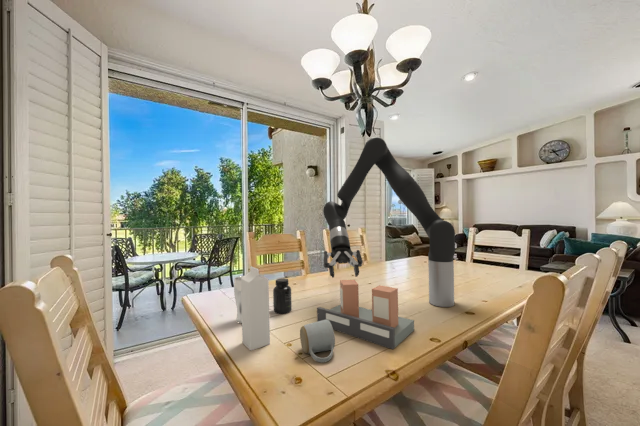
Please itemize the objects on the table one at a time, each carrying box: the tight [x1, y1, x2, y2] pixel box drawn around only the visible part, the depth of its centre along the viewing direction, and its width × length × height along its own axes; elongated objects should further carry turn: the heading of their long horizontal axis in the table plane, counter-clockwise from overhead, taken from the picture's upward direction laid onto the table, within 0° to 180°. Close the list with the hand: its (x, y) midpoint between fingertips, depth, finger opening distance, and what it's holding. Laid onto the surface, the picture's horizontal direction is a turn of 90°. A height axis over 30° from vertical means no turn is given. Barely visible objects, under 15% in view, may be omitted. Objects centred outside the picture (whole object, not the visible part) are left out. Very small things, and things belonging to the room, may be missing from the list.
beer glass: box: [233, 275, 244, 324], centre depth 96 cm, size 7×7×15 cm
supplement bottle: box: [272, 277, 293, 315], centre depth 104 cm, size 7×7×12 cm
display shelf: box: [316, 304, 415, 350], centre depth 88 cm, size 16×27×6 cm, turn 50°
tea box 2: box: [371, 284, 399, 328], centre depth 82 cm, size 5×6×11 cm
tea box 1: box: [339, 279, 360, 318], centre depth 91 cm, size 5×6×11 cm
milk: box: [241, 265, 271, 352], centre depth 79 cm, size 6×6×22 cm
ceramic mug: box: [299, 319, 336, 364], centre depth 73 cm, size 11×8×8 cm
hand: (345, 276), depth 97 cm, fingers open, 8 cm apart
